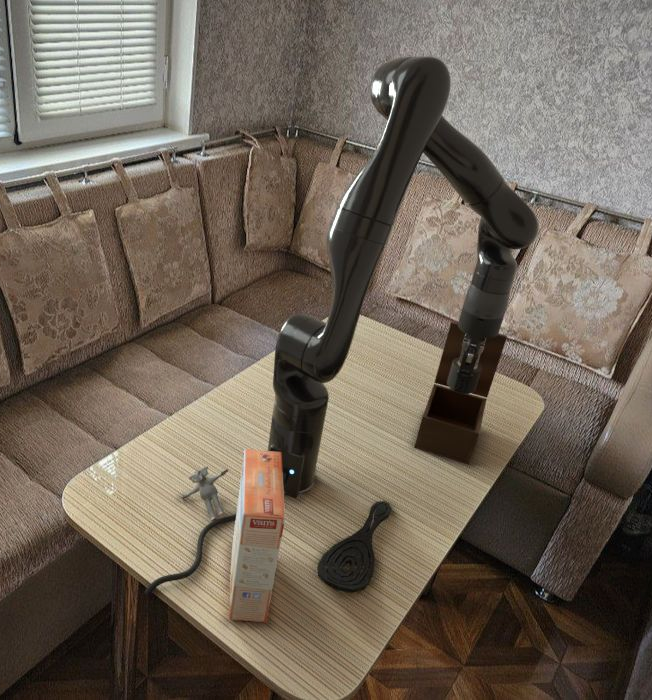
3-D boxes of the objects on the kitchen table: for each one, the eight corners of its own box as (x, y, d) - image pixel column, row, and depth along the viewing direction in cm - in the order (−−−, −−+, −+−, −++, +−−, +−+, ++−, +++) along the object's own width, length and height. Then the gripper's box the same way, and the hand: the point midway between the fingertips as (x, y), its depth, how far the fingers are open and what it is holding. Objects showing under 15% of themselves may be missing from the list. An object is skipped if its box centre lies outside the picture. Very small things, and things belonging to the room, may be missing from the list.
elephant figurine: (185, 529, 112) (168, 483, 117) (202, 534, 117) (185, 489, 122) (235, 499, 110) (215, 453, 115) (250, 506, 115) (230, 461, 120)
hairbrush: (411, 502, 118) (358, 592, 98) (406, 518, 120) (354, 610, 100) (367, 484, 121) (308, 567, 102) (363, 500, 123) (304, 584, 103)
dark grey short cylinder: (473, 396, 130) (480, 374, 127) (444, 388, 132) (450, 366, 129) (476, 383, 135) (483, 361, 132) (448, 375, 136) (454, 354, 134)
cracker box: (269, 624, 97) (286, 517, 87) (227, 621, 97) (240, 514, 86) (268, 551, 109) (283, 449, 99) (231, 548, 109) (242, 446, 98)
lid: (507, 337, 133) (509, 325, 137) (450, 322, 136) (454, 312, 141) (487, 397, 141) (489, 385, 145) (434, 382, 144) (438, 371, 148)
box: (469, 464, 134) (479, 433, 130) (414, 447, 137) (422, 416, 133) (477, 428, 145) (486, 398, 141) (426, 413, 148) (434, 383, 144)
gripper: (468, 289, 131) (447, 362, 140) (458, 318, 120) (436, 396, 128) (507, 298, 129) (484, 372, 138) (501, 329, 117) (476, 407, 126)
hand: (461, 383), depth 133 cm, fingers closed on dark grey short cylinder, 5 cm apart
